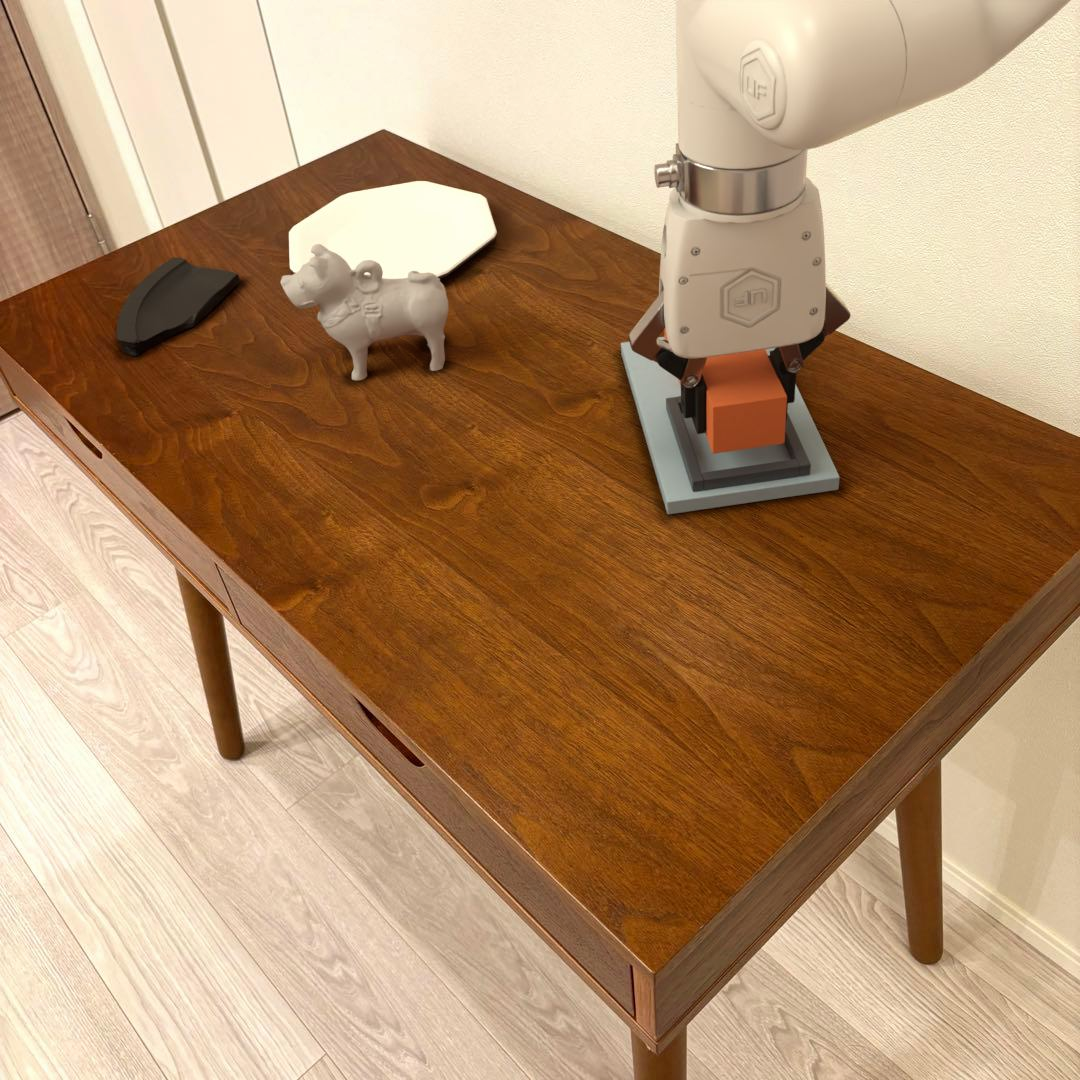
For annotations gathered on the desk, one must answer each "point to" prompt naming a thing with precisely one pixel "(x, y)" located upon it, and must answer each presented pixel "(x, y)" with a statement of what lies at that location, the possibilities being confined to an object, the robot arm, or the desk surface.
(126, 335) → the fan shaped piece
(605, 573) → the desk surface
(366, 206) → the plate
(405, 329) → the dog figurine
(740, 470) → the gray fixture board
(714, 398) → the orange rectangular block
